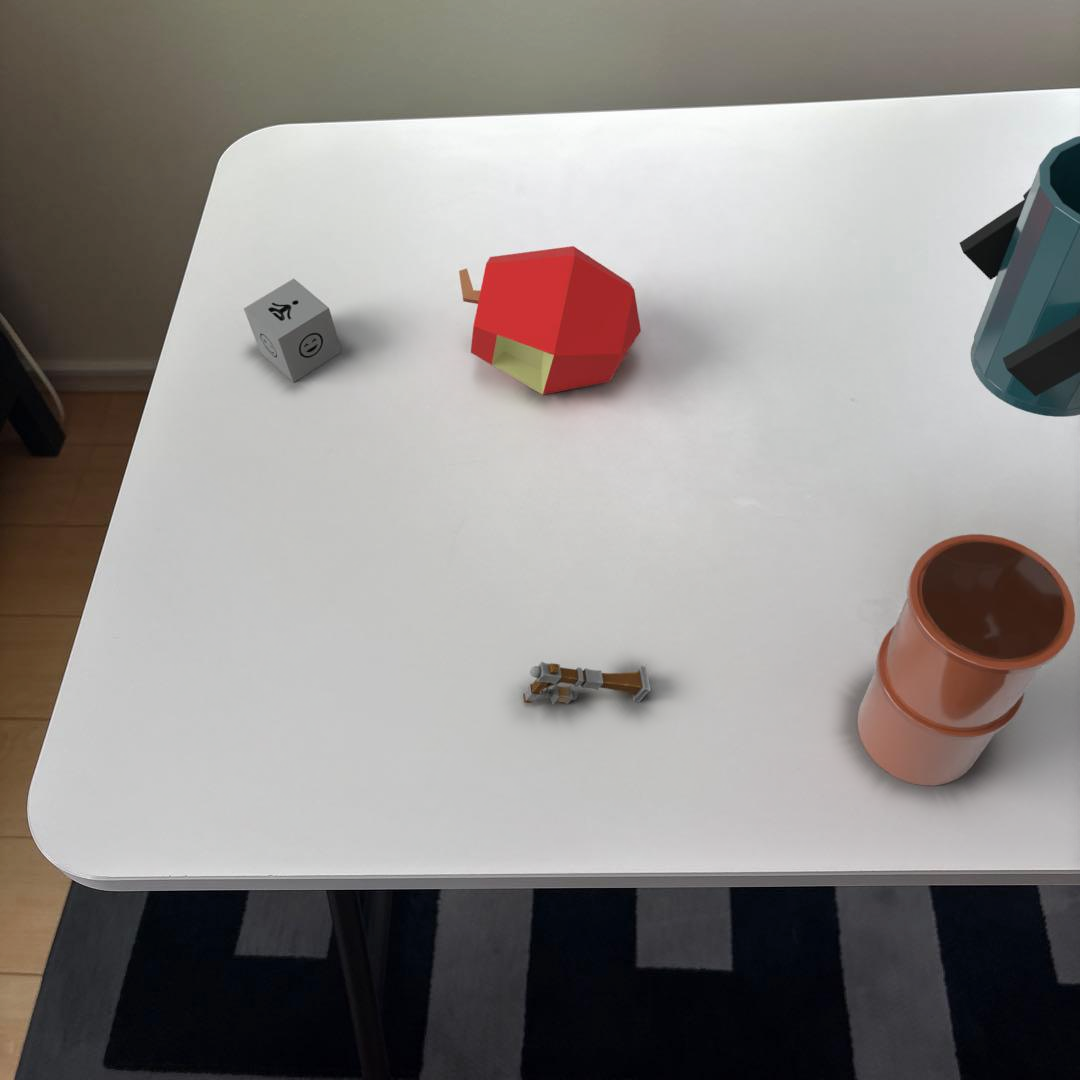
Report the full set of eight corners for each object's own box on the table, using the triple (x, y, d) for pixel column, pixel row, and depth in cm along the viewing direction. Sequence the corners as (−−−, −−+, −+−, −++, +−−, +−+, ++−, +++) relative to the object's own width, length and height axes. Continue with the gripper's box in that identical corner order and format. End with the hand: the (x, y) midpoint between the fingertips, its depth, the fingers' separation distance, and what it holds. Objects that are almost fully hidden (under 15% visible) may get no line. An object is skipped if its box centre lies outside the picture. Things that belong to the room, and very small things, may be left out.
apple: (618, 436, 85) (433, 397, 84) (629, 335, 92) (459, 298, 91) (656, 324, 75) (448, 279, 75) (665, 222, 83) (476, 179, 82)
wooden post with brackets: (509, 685, 70) (533, 652, 67) (619, 694, 73) (647, 663, 70) (511, 710, 69) (536, 677, 66) (622, 718, 72) (651, 688, 69)
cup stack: (984, 803, 65) (1078, 682, 52) (847, 775, 67) (905, 651, 53) (986, 685, 70) (1074, 546, 56) (857, 661, 71) (914, 521, 58)
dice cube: (260, 352, 91) (243, 308, 87) (308, 322, 92) (293, 278, 88) (293, 382, 88) (278, 339, 84) (341, 351, 90) (328, 307, 86)
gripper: (1787, 194, 35) (1097, 513, 48) (1463, -100, 46) (982, 224, 60) (1763, 49, 30) (1015, 442, 44) (1414, -234, 42) (908, 147, 56)
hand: (996, 316), depth 52 cm, fingers closed on cup, 7 cm apart
